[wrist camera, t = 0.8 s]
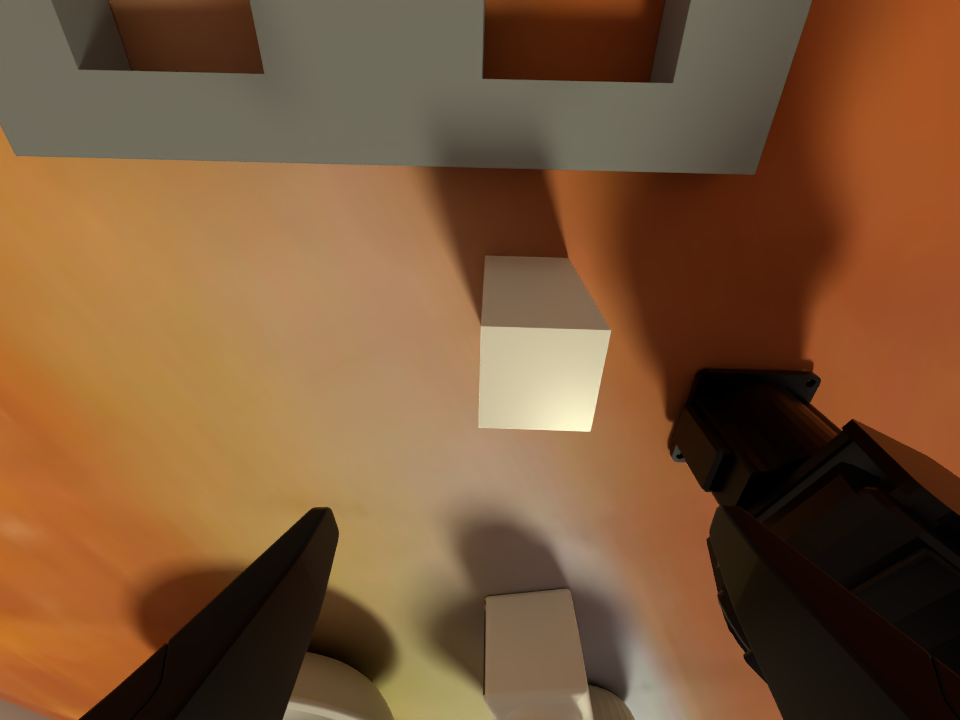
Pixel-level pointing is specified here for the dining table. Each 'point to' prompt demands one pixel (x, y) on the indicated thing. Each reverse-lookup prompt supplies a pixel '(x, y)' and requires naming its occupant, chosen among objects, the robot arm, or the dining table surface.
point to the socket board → (397, 91)
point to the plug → (539, 346)
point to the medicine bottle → (534, 658)
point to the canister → (608, 705)
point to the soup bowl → (334, 693)
